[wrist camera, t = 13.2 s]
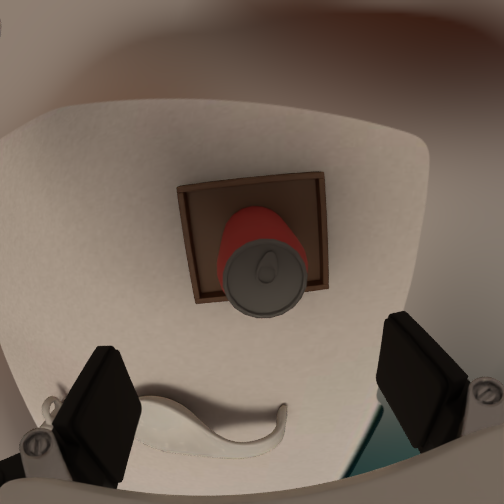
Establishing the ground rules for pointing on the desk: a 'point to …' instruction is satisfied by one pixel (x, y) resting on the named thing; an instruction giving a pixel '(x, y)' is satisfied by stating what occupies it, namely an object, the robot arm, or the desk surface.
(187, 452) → the spoon rest
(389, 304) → the desk surface
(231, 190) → the tray
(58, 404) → the cup
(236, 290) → the beer can
